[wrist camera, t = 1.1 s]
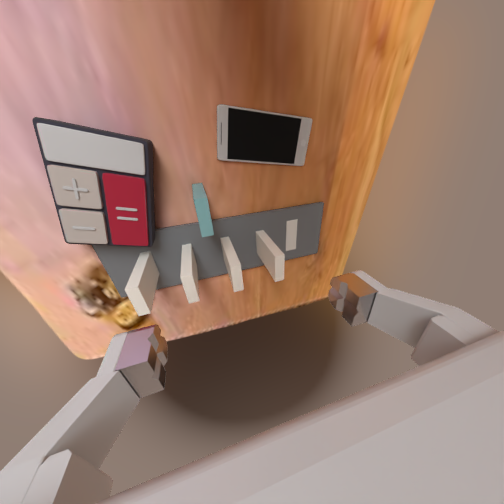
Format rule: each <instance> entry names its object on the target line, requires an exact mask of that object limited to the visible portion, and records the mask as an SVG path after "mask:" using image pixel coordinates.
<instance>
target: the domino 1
mask: <svg viewBox="0 0 504 504" xmlns="http://www.w3.org/2000/svg"><path fill="white" fill-rule="evenodd" d="M158 277H159V272H158V269H157V267H156V264H155V262H154V259H153V257H152V254H151V252H150V251H147V252H142V253H140V255H139V257H138V260H137V262H136V264H135V267H134V269H133V271H132V274H131V276H130V278H129V281H128V283H127V285H126V288H125V292H126V294H127V295H128V297H129V299H130V301H131V303H132V304H133V306H134V308H135V310H136V312H137V314H138V315H139V316H141V315H145V314H149V313H151V310H152V305H153V300H154V296H155V291H156V287H157V282H158Z"/></svg>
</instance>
